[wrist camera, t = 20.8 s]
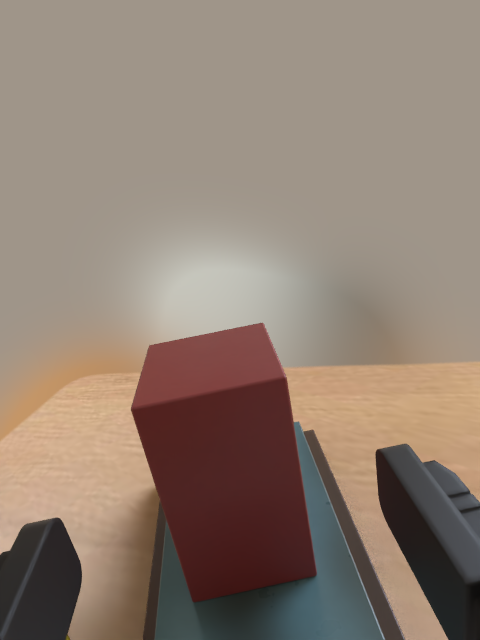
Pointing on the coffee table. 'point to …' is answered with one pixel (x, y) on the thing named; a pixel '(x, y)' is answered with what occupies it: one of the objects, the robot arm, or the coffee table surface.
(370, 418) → the coffee table surface
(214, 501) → the pillar block
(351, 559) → the blue-grey flat block
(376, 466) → the robot arm
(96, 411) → the coffee table surface
